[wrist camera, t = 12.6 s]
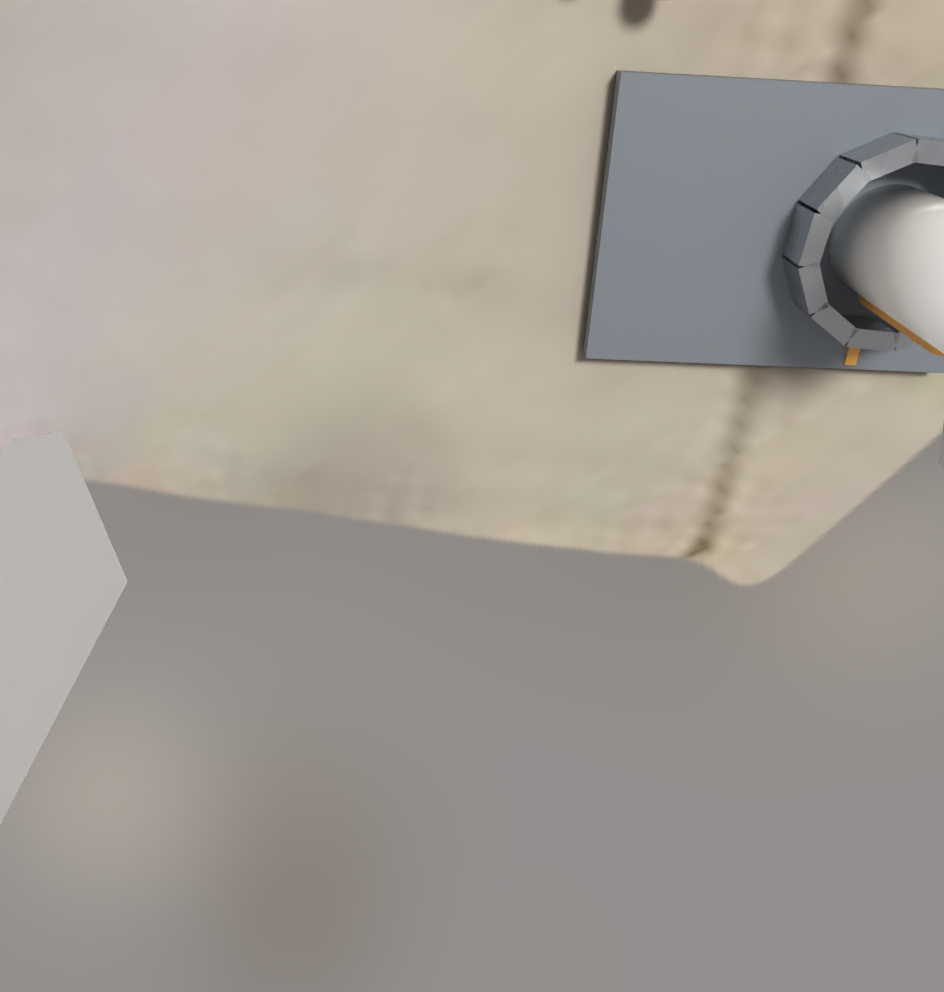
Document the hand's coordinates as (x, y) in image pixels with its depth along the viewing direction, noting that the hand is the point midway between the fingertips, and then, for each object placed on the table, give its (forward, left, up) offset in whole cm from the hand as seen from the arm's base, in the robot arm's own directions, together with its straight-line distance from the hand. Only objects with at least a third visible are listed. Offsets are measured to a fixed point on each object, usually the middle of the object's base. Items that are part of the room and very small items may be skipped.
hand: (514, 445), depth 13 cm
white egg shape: (+20, +9, -33) cm, 39 cm away
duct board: (+16, +7, -34) cm, 38 cm away
